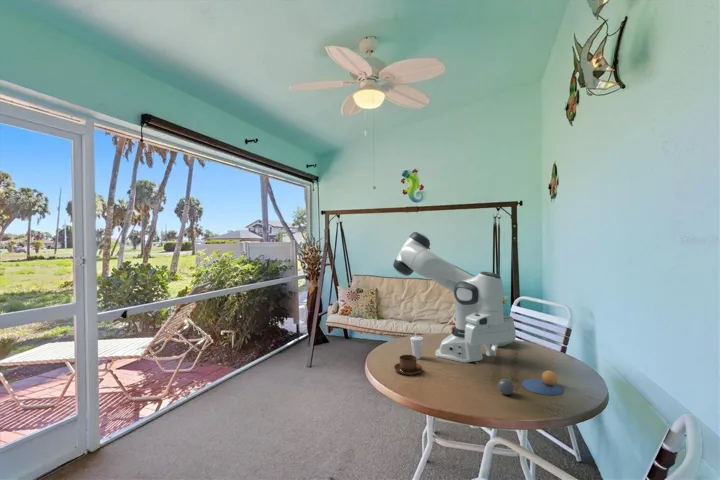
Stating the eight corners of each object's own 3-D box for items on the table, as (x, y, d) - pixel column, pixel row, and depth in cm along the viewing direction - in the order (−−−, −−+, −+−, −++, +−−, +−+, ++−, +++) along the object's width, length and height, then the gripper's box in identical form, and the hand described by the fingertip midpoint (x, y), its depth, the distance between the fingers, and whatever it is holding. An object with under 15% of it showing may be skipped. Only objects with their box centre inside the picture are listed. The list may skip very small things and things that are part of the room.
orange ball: (544, 389, 131) (540, 377, 131) (543, 380, 136) (539, 368, 135) (560, 388, 129) (556, 375, 128) (558, 379, 134) (554, 366, 133)
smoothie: (408, 355, 167) (408, 327, 167) (421, 355, 168) (421, 327, 168) (412, 360, 161) (411, 331, 161) (425, 359, 161) (424, 330, 161)
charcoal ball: (509, 374, 125) (515, 385, 126) (495, 376, 128) (501, 388, 129) (510, 385, 120) (516, 397, 121) (495, 387, 123) (501, 399, 124)
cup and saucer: (388, 372, 147) (388, 357, 147) (404, 364, 156) (404, 351, 156) (411, 379, 139) (411, 364, 139) (427, 371, 148) (427, 357, 148)
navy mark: (521, 390, 127) (521, 390, 127) (521, 377, 140) (521, 376, 140) (564, 398, 121) (564, 397, 121) (560, 383, 134) (560, 382, 134)
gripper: (506, 313, 129) (507, 349, 129) (461, 317, 122) (462, 355, 122) (519, 316, 123) (520, 354, 123) (473, 321, 116) (473, 361, 116)
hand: (490, 355), depth 123 cm, fingers closed
